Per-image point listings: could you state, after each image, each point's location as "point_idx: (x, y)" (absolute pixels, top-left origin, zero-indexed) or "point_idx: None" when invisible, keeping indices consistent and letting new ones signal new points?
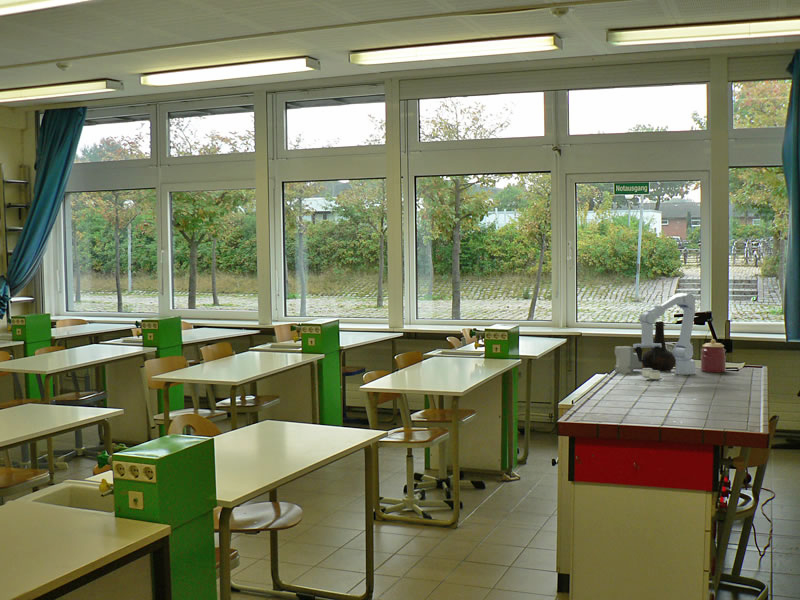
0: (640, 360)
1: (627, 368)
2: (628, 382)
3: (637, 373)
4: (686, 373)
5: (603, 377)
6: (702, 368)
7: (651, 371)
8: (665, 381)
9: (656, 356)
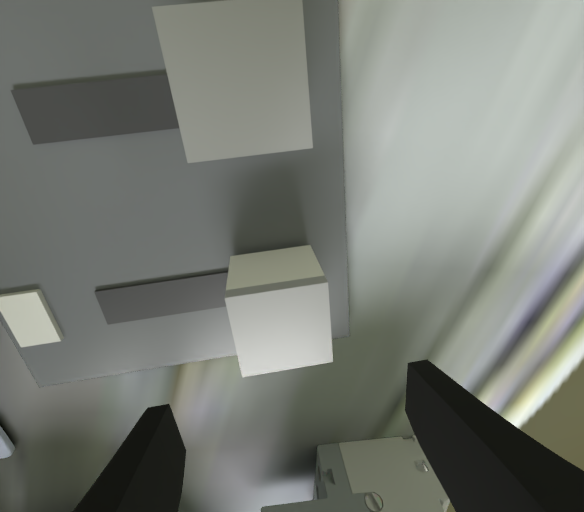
0: (443, 374)
1: (372, 494)
2: (535, 58)
3: None
4: None
5: (553, 359)
6: None
7: (305, 62)
8: None
9: (91, 502)
